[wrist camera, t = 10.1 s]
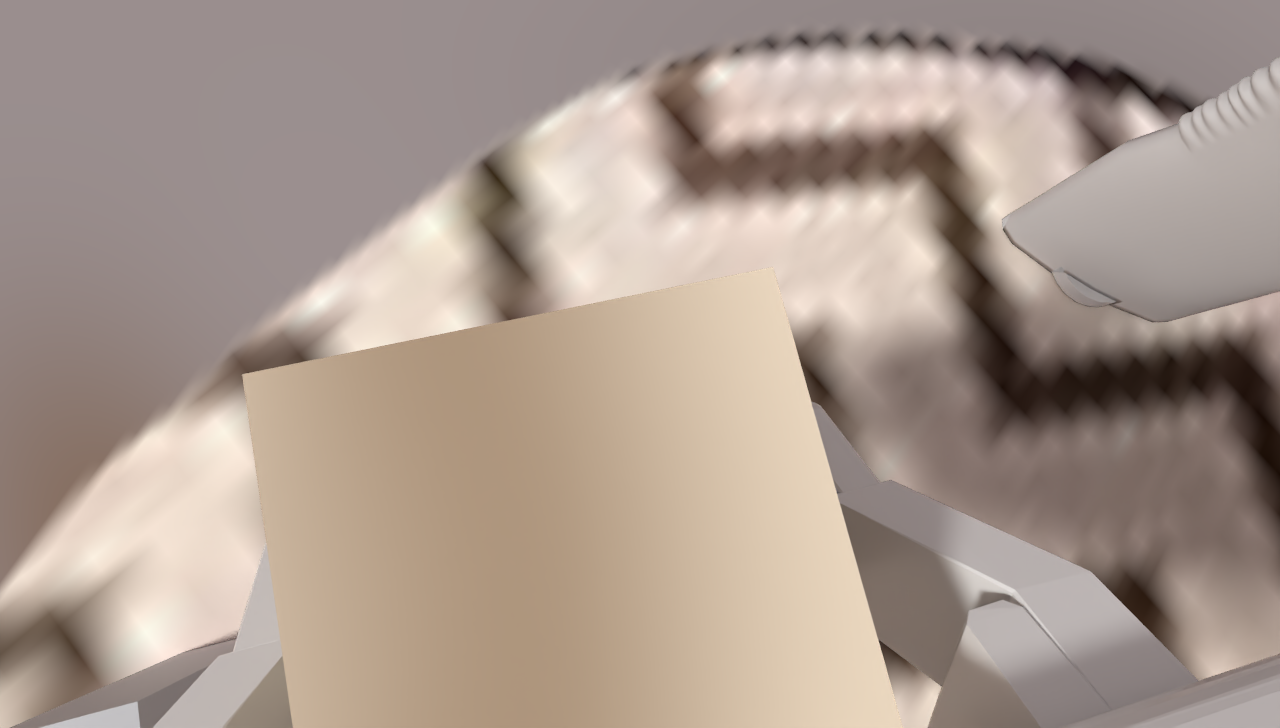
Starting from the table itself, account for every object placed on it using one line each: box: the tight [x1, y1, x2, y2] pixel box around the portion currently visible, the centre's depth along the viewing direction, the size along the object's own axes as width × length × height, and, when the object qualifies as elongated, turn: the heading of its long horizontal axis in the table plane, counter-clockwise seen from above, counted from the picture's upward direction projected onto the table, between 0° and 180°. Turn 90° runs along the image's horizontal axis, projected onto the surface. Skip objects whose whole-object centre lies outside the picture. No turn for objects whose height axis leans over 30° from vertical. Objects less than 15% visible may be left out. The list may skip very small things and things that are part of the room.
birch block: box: [242, 267, 903, 728], centre depth 9 cm, size 4×4×9 cm
